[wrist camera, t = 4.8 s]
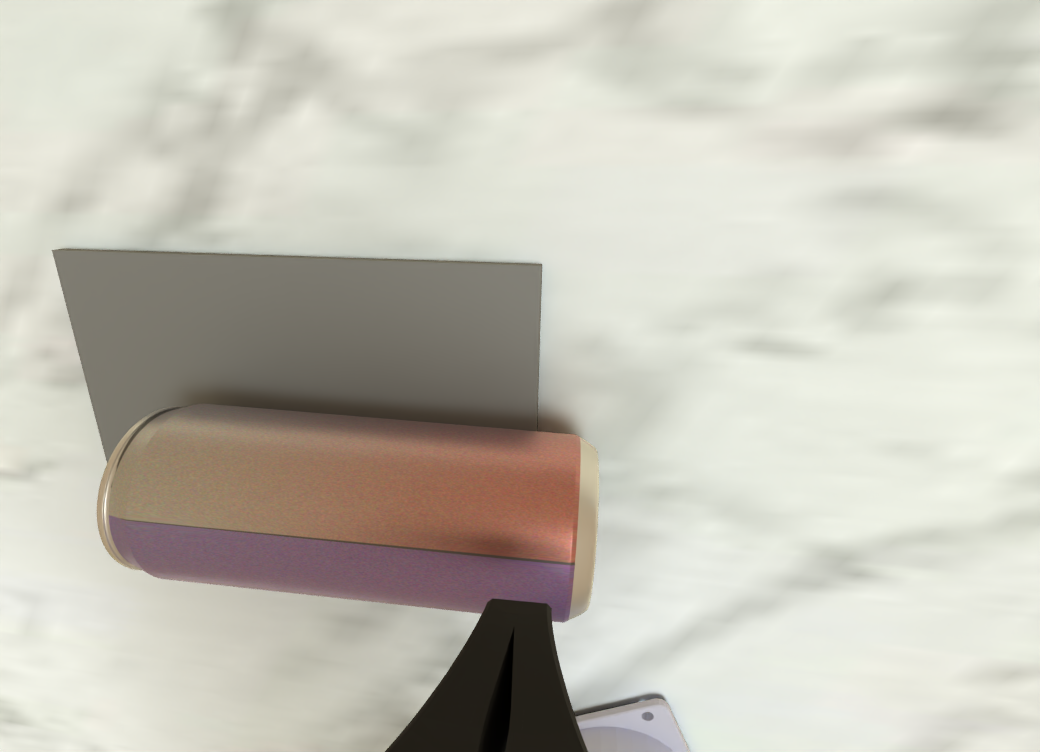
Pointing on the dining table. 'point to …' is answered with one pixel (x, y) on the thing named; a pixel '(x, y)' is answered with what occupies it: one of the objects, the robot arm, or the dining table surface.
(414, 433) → the beverage can
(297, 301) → the mat
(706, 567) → the dining table surface
